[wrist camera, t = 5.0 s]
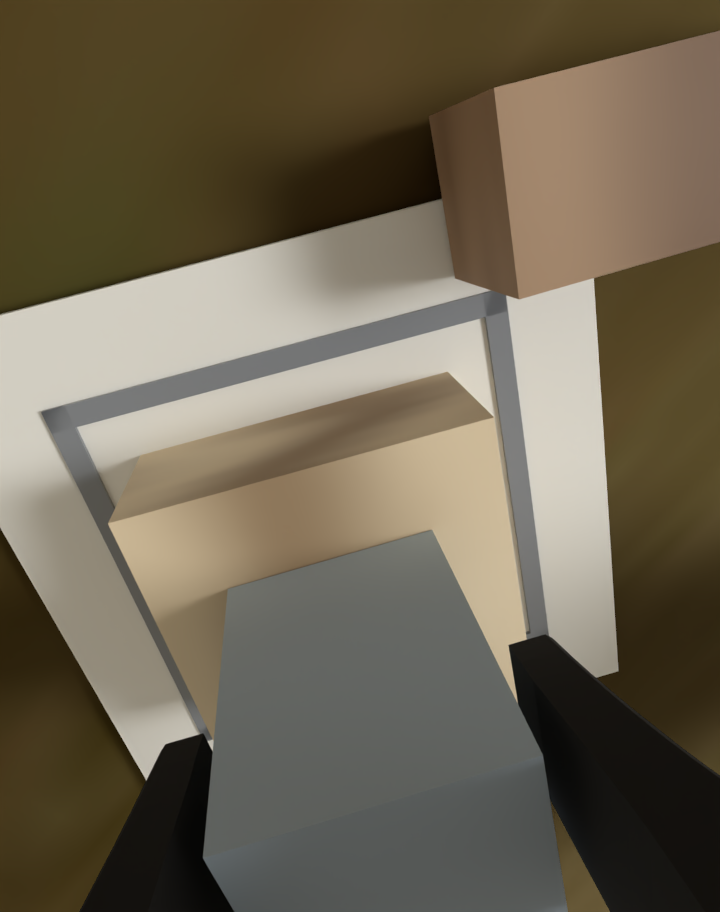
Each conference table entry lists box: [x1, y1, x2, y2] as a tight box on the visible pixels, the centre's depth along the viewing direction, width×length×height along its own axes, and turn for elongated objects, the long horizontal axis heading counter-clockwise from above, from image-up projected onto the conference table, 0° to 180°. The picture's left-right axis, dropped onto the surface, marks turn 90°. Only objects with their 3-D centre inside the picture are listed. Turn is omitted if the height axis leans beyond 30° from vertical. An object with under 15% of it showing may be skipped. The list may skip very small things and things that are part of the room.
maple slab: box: [108, 372, 527, 741], centre depth 13 cm, size 7×7×3 cm
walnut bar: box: [429, 31, 720, 299], centre depth 11 cm, size 8×3×3 cm, turn 104°
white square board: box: [0, 199, 618, 780], centre depth 15 cm, size 14×14×1 cm
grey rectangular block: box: [203, 530, 568, 912], centre depth 10 cm, size 4×4×5 cm
